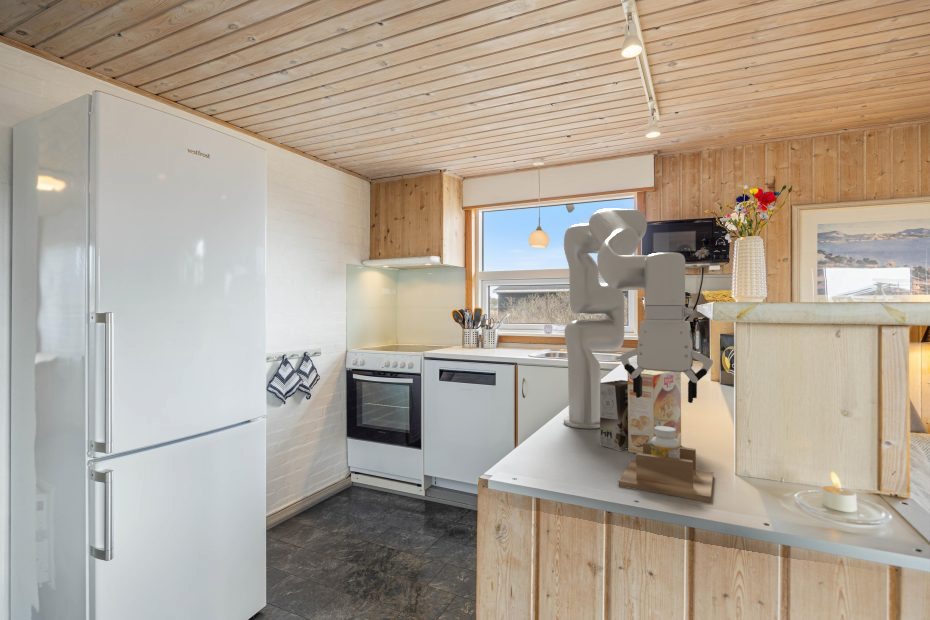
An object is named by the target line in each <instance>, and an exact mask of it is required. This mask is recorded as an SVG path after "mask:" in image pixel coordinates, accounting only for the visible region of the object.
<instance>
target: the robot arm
mask: <svg viewBox="0 0 930 620" xmlns="http://www.w3.org/2000/svg"><path fill="white" fill-rule="evenodd" d="M647 228H648V222H647V217H646V216H645V214H644V213H643V212H642V211H641V210H639V209H635V208H603V209H599V210H597V211H596V212H594V213H593V214H591V216H590V218H589V220H588V223H579V224H574V225H570V226H569V227H568V228H567V229H566V231H565V234H564V236H563V248H564V249H563V250H564V255H565V258H566V261H567V263H568V264H567V266H568V270H569V278H568V279H569V281H568V282H569V284H568V285H569V307H570V310H571V312H572V313H574V314H576V315H581V316H588V315H589V316H592V315H593V316H594V315H596V316H597V315H598V316H600V315H601V316H602V315H603V316H604V319H601V318H600V319H599V318H598V319H594V318H590V319H589V318H587V319H585V318H584V319H574V320H571V321H569V322H568V323H567V324H566V325H565V327H564V341H565V345H566V352H567V353H566V354H567V376H568V377H567V378H568V379H567V381H568V416H565V417H564V418H563V423H564V424H565V425H566V426H568V427H571V428H577V429H591V430H593V429H600V383H602V377H601V376H602V374H601V372H602V371H601V369H602V368H601V365H600V362H599V360H598V359H597V358H596V357H595V355H594V353H593V352H596V351H599V352H600V351H601V352H604V351H617V350H619V349H620V348H621V347H622V346H623V344H624V339H625V296H624V292H623V291H635V290H636V291H644V297H643V298H644V299H643V300H644V313H643V314H644V316H643V317H644V320H641V321H640V324H639V325H640V326H639V330H638V339H637V347H636V348H634V349H631V350H630V351H628V352H625V353H623V354H620V355H619V360H620V362H621V364H622V365H623V368H624V370H625V371H626V372H627V374H628V373H629V374H630V375H631V376H632V378H633V392H634V393H636V398H639V397H641V396H642V377H641V373H642V372H643V370H655V371H669V372H681V373H684V374H685V375H686V377H687V378H688V379H689V380H688V381H687V402H688V403H689V404H693V401H694V399H697V398H698V396H697V395H698V382H699V381H700V380H701V379H702V378H704V377H705V376H706V375H707V374H708V372H709V370H710V369H711V367H712V366H713V363H714V360H713V359H712V358H709V357H707V356H705V355H703V354H701V353H699V352H697V351H695V350H694V349H693V334H692V329H691V324H690V321H686V318H687V317H690V316H692V317H694V309H693V308H689V307H686V258H685V255H684V254H682V253H680V252H656V253H651V254H648V255H643V254H640V255H639V254H634V253H635V252H636V251H637V249H638V248H639V244H640V241H641V240H642V239H643V238H644V236H645V235H646V232H647V230H648V229H647ZM590 254H597V256H596V257H597V260H596V261H595V260H594V258H593V257H592V256H591V255H590ZM596 262H597V263H596ZM599 274H600V276H601V278H602V279H603V280H604V282H605V283H603V282H601V283H600V282H599V281H600V280H599ZM635 356H636V363H637V367H636V368H635V367H634V366H633V365H632V364H631V362H630V360H629V359H630V358H633V357H635ZM694 360H696V361H698V362H700V363H702V367H701V368H700V369H699V370H698V371H696V372H695V370H694V369H693V368H692V367H693V365H694V364H693V363H694Z"/></svg>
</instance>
